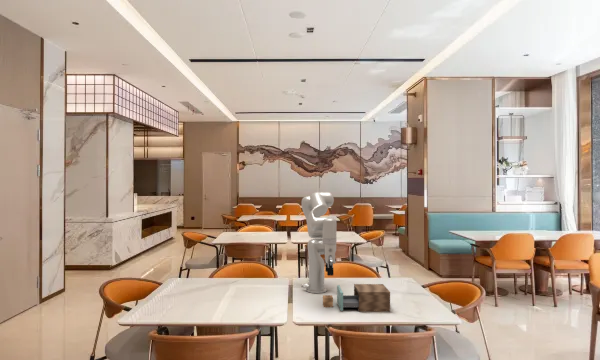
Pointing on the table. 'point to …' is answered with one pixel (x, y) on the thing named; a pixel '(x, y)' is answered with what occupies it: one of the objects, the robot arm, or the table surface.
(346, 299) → the teal drawer
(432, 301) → the table surface
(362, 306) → the cabinet
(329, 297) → the cube
